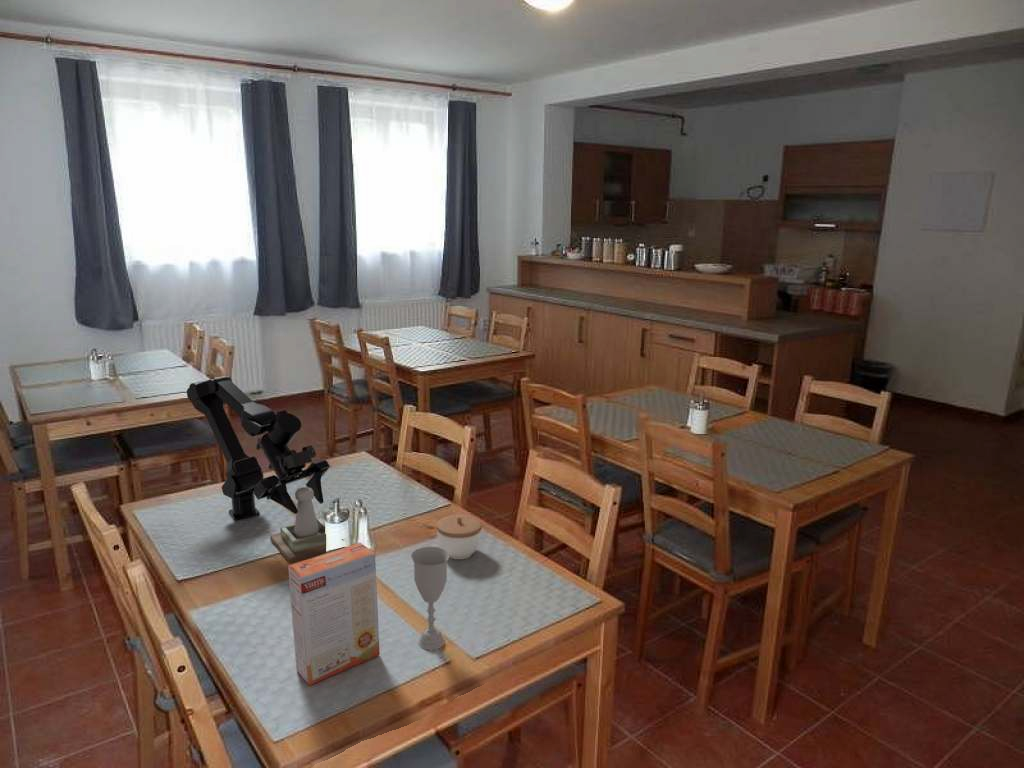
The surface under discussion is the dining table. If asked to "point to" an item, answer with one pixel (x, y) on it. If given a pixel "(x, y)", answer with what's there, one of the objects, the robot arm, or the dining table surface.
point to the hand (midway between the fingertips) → (309, 507)
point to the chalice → (430, 588)
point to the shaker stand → (300, 543)
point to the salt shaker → (305, 514)
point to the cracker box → (334, 611)
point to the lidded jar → (459, 535)
